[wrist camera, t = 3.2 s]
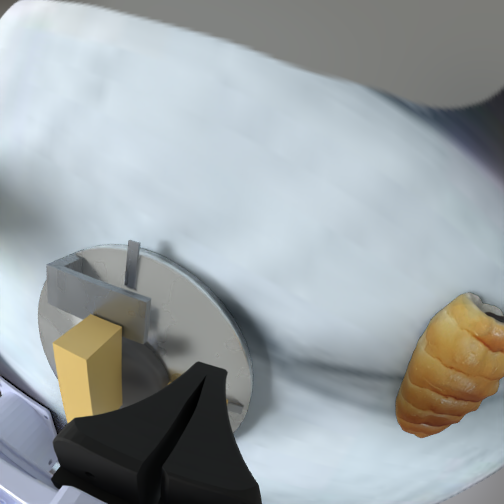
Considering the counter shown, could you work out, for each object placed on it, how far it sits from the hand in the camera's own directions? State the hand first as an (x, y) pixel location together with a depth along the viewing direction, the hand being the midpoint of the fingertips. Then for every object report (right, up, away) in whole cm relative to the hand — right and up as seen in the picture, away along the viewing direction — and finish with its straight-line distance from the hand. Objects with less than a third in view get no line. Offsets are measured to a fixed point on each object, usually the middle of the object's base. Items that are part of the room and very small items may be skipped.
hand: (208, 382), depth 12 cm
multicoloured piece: (-4, -1, +3) cm, 5 cm away
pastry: (+14, -1, +3) cm, 14 cm away
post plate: (-6, -1, +5) cm, 8 cm away
